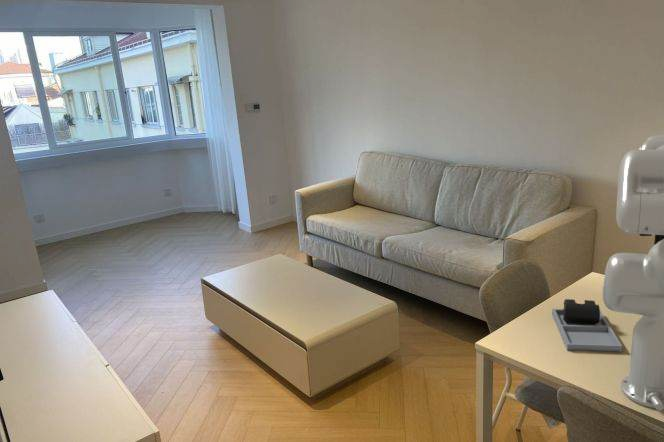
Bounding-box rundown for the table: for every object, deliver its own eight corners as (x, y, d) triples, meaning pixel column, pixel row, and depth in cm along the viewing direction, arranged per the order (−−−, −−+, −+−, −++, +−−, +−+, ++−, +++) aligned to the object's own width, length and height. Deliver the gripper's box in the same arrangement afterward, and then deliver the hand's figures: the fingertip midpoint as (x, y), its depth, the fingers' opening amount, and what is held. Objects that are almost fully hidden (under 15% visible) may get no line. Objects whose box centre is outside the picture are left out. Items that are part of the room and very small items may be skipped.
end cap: (564, 326, 158) (565, 307, 156) (561, 315, 164) (562, 297, 163) (599, 328, 155) (600, 309, 153) (595, 317, 161) (596, 299, 159)
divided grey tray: (621, 352, 143) (622, 346, 142) (567, 350, 146) (567, 344, 146) (599, 314, 164) (599, 309, 163) (552, 314, 167) (552, 308, 167)
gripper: (690, 188, 125) (683, 251, 130) (659, 174, 141) (654, 231, 146) (657, 189, 127) (651, 252, 131) (631, 175, 143) (626, 232, 148)
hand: (652, 241), depth 139 cm, fingers open, 9 cm apart
